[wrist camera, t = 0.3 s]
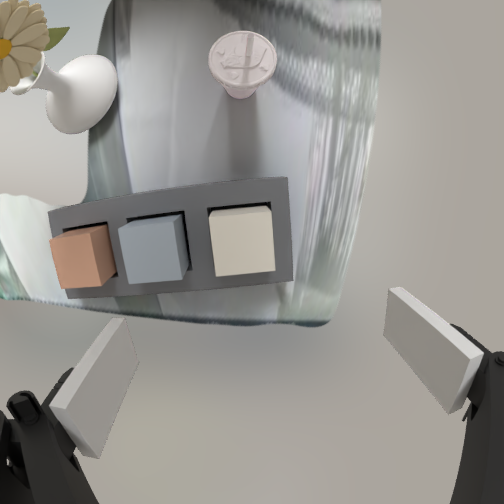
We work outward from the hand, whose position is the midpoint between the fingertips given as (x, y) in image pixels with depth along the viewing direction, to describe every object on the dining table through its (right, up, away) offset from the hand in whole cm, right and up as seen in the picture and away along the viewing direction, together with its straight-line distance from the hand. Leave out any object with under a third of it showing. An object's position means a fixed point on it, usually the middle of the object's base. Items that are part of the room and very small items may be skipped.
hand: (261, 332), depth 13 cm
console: (-11, +6, +22) cm, 26 cm away
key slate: (-11, +5, +20) cm, 23 cm away
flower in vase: (-22, +25, +17) cm, 37 cm away
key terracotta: (-21, +4, +19) cm, 28 cm away
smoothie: (-2, +24, +18) cm, 30 cm away
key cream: (-2, +6, +20) cm, 21 cm away
